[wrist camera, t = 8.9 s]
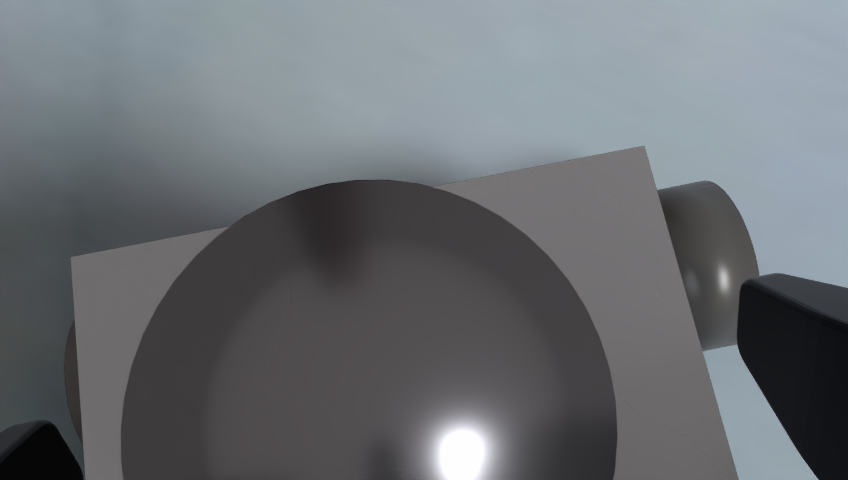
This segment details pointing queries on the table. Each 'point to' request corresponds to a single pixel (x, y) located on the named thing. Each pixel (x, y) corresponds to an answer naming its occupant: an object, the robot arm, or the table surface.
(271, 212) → the block
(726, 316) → the chassis
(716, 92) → the table surface
